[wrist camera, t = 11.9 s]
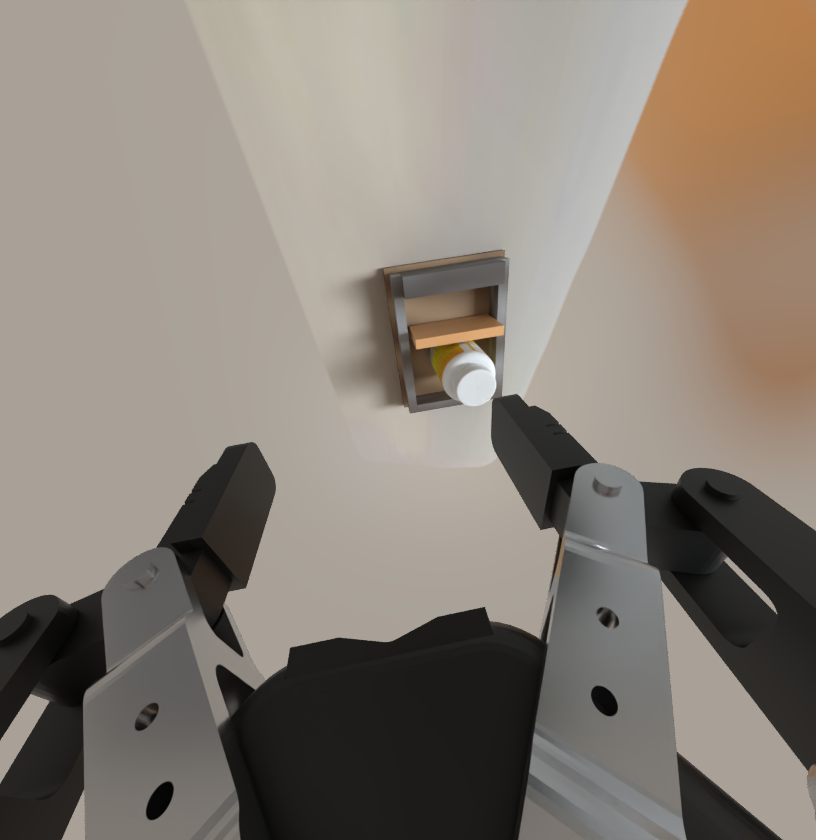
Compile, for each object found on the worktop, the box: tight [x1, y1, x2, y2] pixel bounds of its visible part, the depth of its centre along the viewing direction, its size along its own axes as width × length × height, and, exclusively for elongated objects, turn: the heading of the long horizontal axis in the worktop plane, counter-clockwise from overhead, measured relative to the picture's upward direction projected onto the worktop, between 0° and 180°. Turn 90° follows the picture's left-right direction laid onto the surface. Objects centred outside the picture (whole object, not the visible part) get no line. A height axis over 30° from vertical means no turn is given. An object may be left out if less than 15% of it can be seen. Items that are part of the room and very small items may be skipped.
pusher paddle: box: [409, 314, 504, 349], centre depth 33 cm, size 1×9×5 cm, turn 97°
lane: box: [383, 250, 509, 413], centre depth 35 cm, size 17×13×5 cm
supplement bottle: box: [429, 340, 496, 406], centre depth 33 cm, size 6×6×10 cm
